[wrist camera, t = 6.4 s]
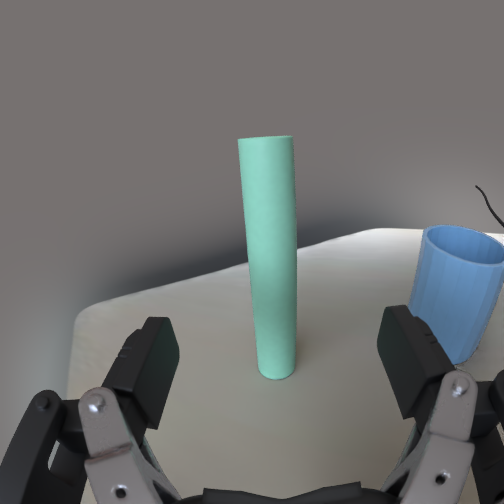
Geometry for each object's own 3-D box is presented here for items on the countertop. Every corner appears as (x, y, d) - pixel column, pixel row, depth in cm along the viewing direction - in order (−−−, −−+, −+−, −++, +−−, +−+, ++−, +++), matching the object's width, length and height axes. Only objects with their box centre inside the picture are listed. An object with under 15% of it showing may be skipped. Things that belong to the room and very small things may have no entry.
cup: (424, 299, 25) (440, 218, 21) (484, 329, 19) (513, 244, 15) (386, 337, 21) (406, 240, 17) (459, 379, 15) (504, 279, 11)
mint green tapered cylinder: (280, 348, 22) (270, 136, 15) (302, 367, 19) (304, 135, 13) (251, 363, 20) (227, 139, 14) (272, 385, 18) (258, 137, 12)
